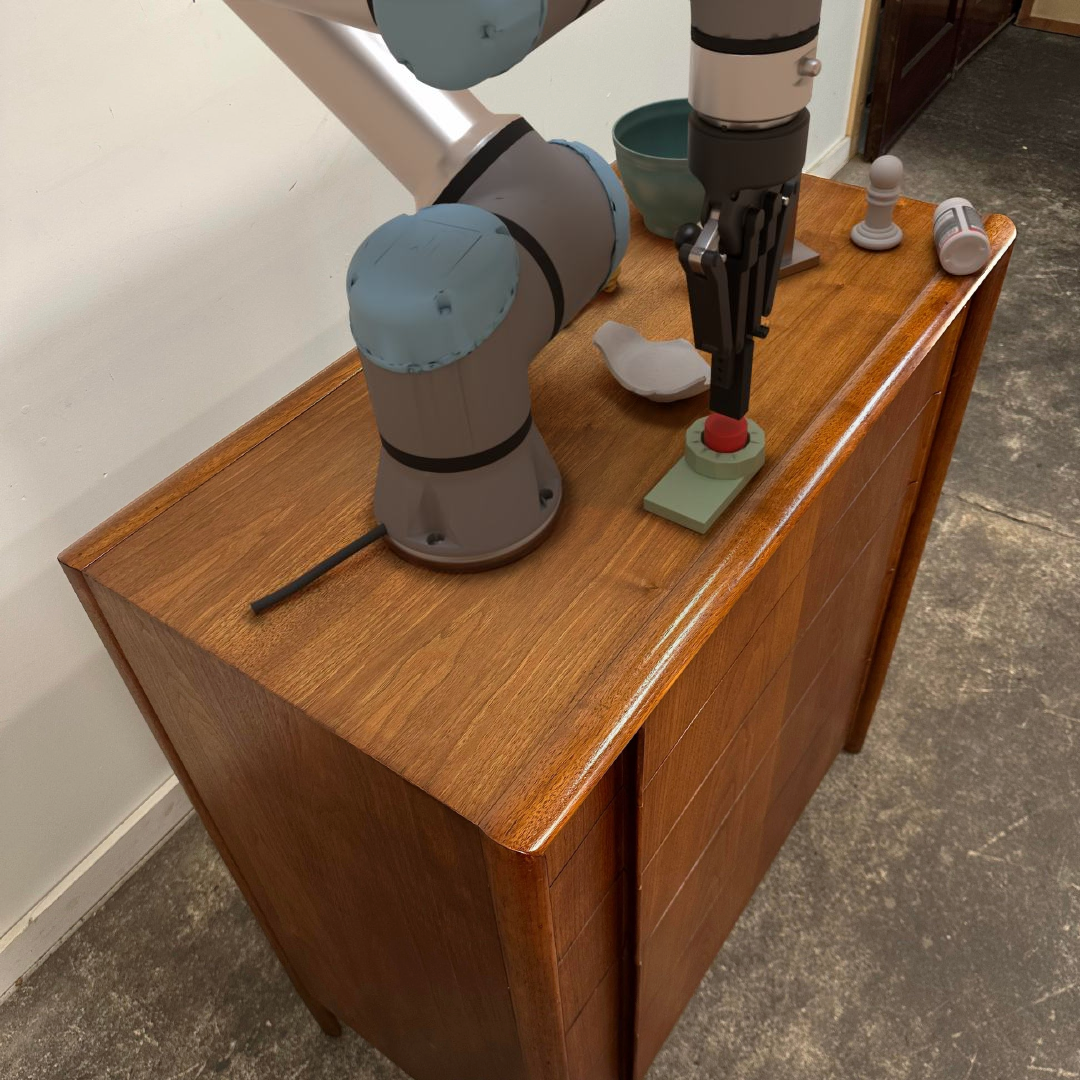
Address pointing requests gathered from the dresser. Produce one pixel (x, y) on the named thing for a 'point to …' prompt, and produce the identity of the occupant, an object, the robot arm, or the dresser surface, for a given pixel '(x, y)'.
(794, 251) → the bracket
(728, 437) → the button
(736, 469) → the control block
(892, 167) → the chess piece
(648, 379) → the pottery shard
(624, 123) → the flower pot
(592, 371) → the dresser surface
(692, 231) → the lever
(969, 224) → the pill bottle
